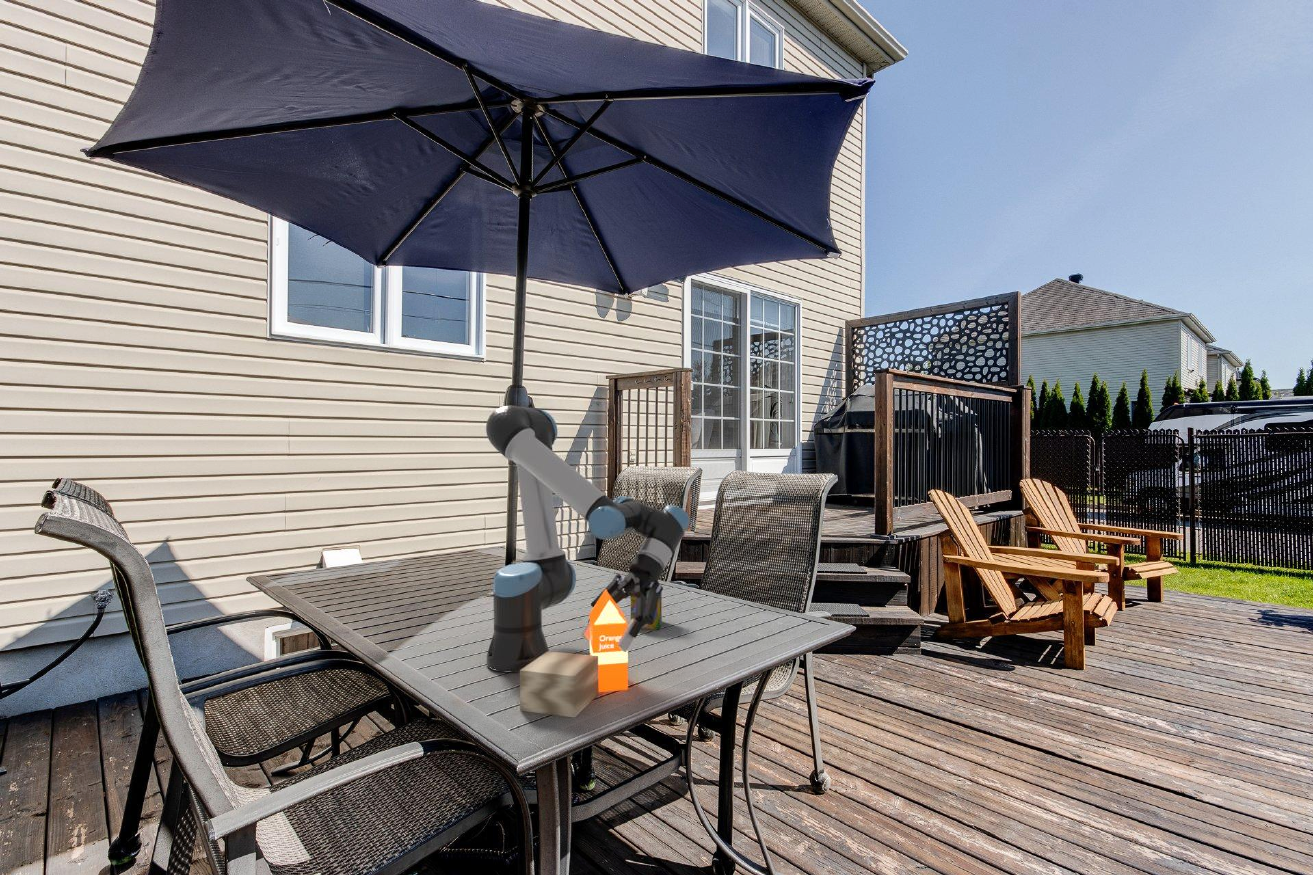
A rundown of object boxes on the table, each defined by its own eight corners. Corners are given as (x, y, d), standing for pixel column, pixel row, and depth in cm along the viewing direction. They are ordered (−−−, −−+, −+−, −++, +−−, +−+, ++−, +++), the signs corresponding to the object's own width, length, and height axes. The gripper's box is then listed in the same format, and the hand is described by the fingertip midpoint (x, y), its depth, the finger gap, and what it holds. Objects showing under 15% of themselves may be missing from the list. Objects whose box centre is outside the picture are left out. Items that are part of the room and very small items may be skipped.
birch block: (520, 710, 120) (519, 670, 120) (548, 687, 131) (547, 651, 131) (574, 717, 116) (574, 675, 116) (598, 693, 128) (598, 655, 128)
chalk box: (632, 621, 183) (631, 572, 183) (662, 621, 183) (661, 572, 183) (629, 630, 174) (629, 578, 174) (661, 630, 173) (660, 578, 174)
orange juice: (622, 673, 138) (622, 587, 138) (628, 689, 130) (628, 598, 129) (589, 675, 137) (588, 589, 136) (592, 692, 128) (591, 600, 128)
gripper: (695, 577, 137) (650, 664, 125) (624, 565, 153) (577, 641, 141) (680, 557, 134) (632, 644, 122) (608, 547, 149) (560, 623, 137)
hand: (603, 643), depth 131 cm, fingers closed on orange juice, 11 cm apart
